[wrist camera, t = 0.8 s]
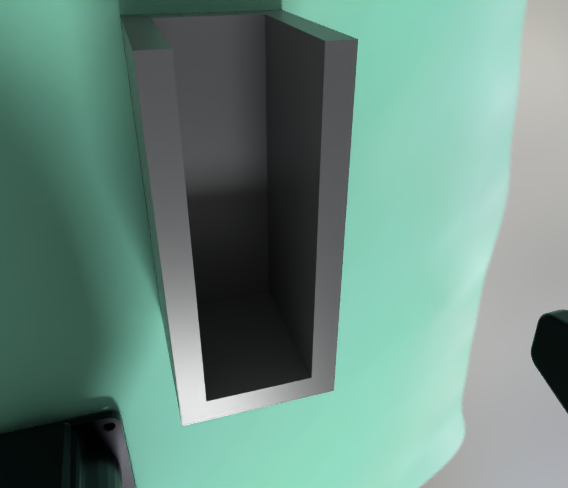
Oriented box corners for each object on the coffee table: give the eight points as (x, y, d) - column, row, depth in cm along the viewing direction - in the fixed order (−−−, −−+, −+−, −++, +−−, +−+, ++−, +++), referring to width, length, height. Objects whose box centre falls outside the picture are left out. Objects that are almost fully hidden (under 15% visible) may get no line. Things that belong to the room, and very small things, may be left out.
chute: (280, 290, 23) (333, 390, 18) (161, 311, 21) (181, 426, 16) (280, 9, 17) (358, 39, 12) (119, 14, 16) (132, 50, 11)
